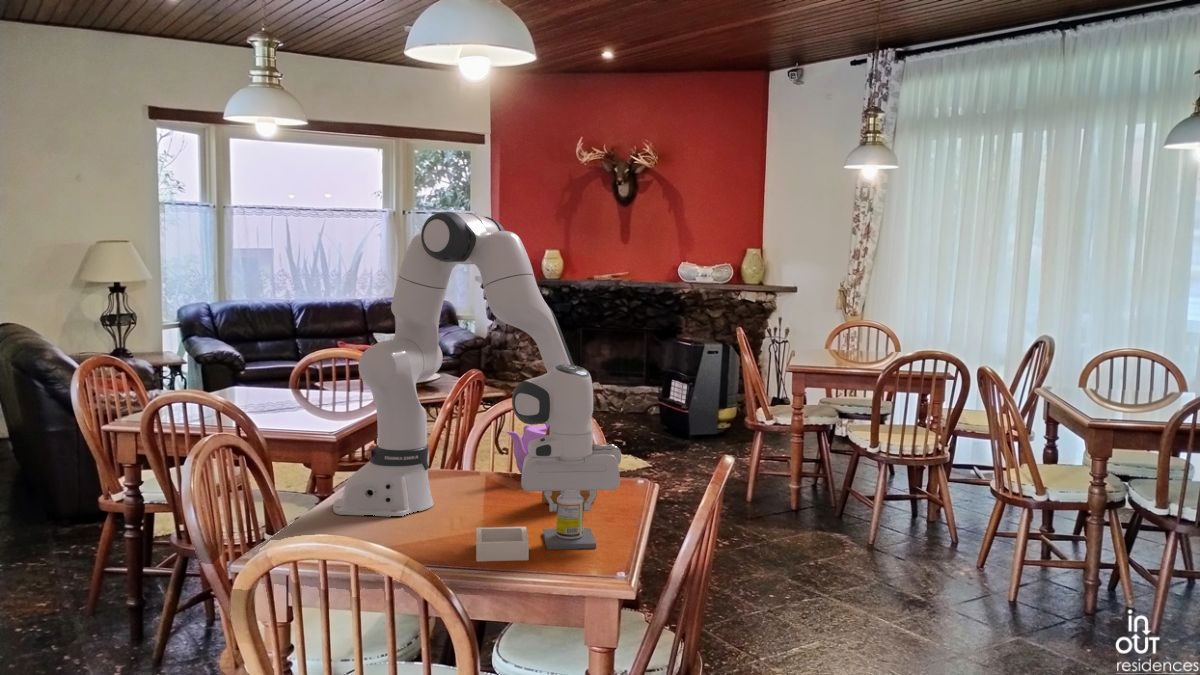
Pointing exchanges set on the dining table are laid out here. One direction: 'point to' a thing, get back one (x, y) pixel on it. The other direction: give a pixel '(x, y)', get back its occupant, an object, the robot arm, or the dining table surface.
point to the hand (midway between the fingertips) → (570, 510)
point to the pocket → (502, 544)
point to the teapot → (526, 441)
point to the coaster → (568, 540)
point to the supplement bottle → (570, 514)
